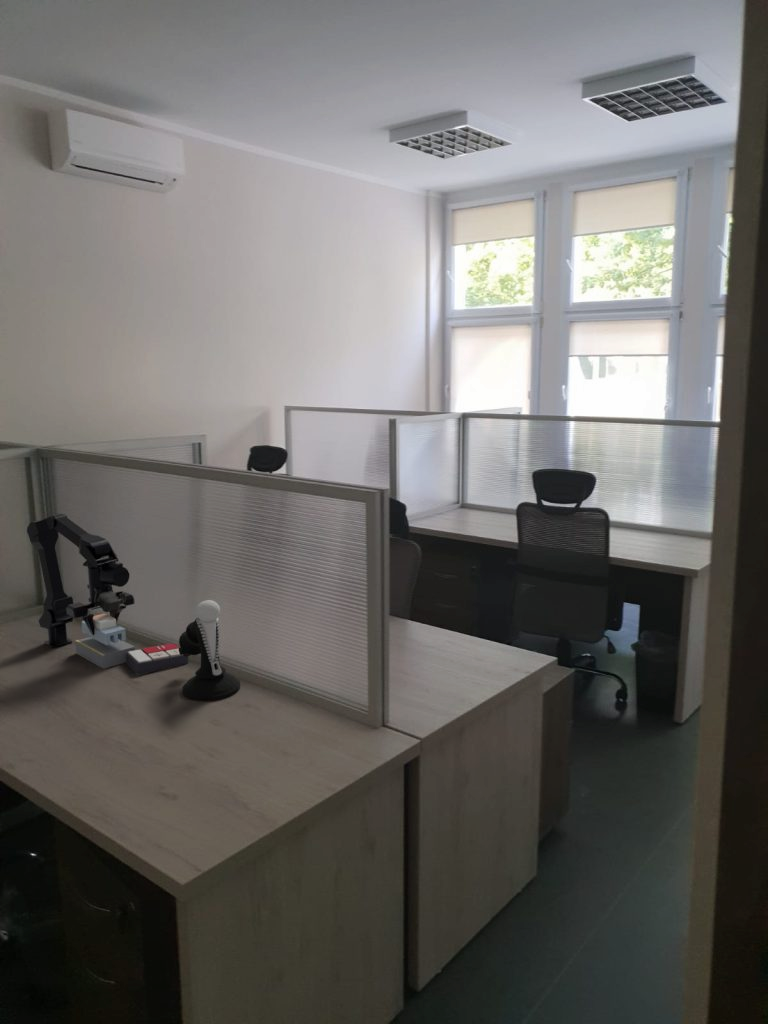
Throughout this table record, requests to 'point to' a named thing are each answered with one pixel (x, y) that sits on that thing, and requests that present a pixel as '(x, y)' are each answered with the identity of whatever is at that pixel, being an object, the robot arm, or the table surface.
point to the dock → (103, 651)
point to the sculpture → (206, 657)
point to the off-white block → (105, 623)
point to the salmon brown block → (99, 617)
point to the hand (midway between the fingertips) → (103, 632)
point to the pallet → (106, 634)
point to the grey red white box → (155, 658)
